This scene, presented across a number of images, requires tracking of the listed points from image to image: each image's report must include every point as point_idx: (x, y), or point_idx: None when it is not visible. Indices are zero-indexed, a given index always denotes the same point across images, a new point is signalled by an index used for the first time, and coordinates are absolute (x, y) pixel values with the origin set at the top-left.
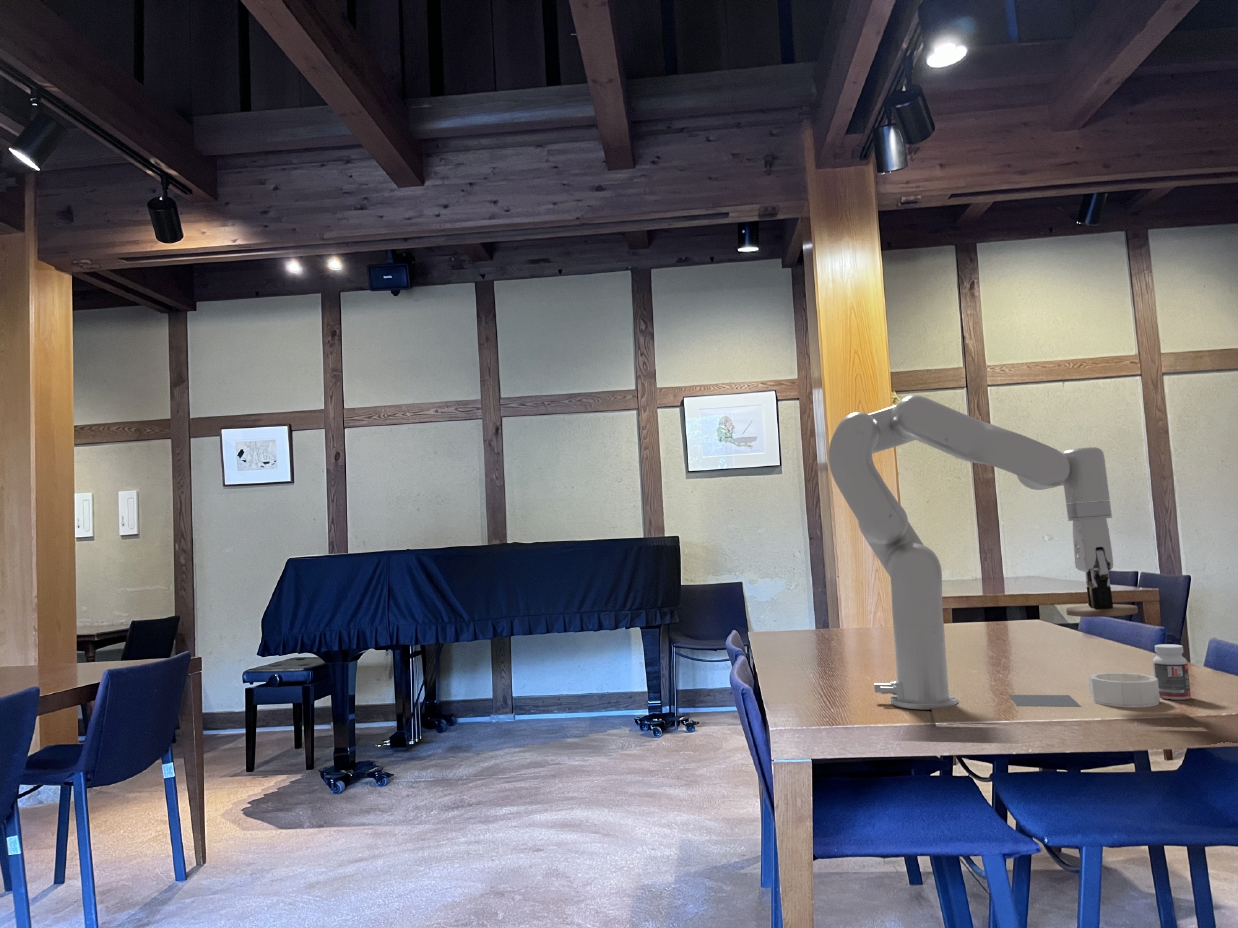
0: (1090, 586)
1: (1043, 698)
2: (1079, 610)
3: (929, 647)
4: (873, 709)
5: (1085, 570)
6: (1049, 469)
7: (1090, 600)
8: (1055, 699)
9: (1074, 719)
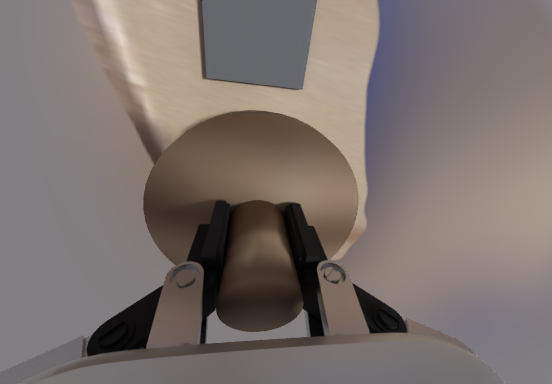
0: (248, 262)
1: (277, 29)
2: (202, 147)
3: None
4: None
5: (53, 370)
6: None
7: (290, 218)
8: (266, 51)
9: (117, 35)
